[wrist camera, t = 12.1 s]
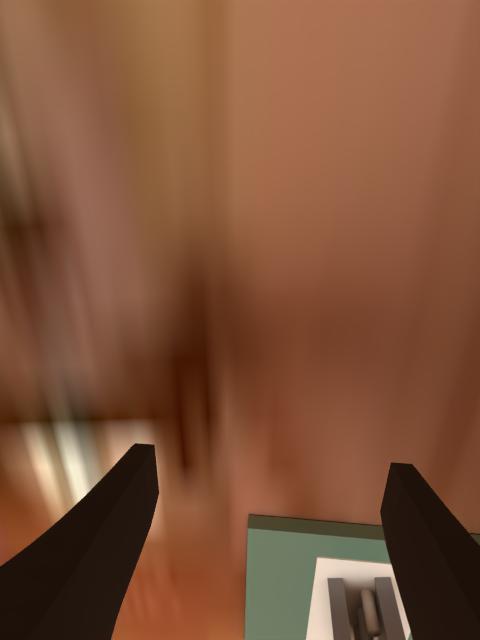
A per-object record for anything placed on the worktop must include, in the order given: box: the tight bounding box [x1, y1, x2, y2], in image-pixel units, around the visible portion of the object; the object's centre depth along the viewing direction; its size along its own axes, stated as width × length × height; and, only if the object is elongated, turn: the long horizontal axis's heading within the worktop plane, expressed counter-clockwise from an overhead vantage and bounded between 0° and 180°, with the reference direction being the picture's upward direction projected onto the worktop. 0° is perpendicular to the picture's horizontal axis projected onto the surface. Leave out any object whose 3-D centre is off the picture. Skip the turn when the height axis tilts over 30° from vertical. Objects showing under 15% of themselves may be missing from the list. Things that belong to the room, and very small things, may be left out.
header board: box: [245, 515, 480, 640], centre depth 27 cm, size 16×14×4 cm
